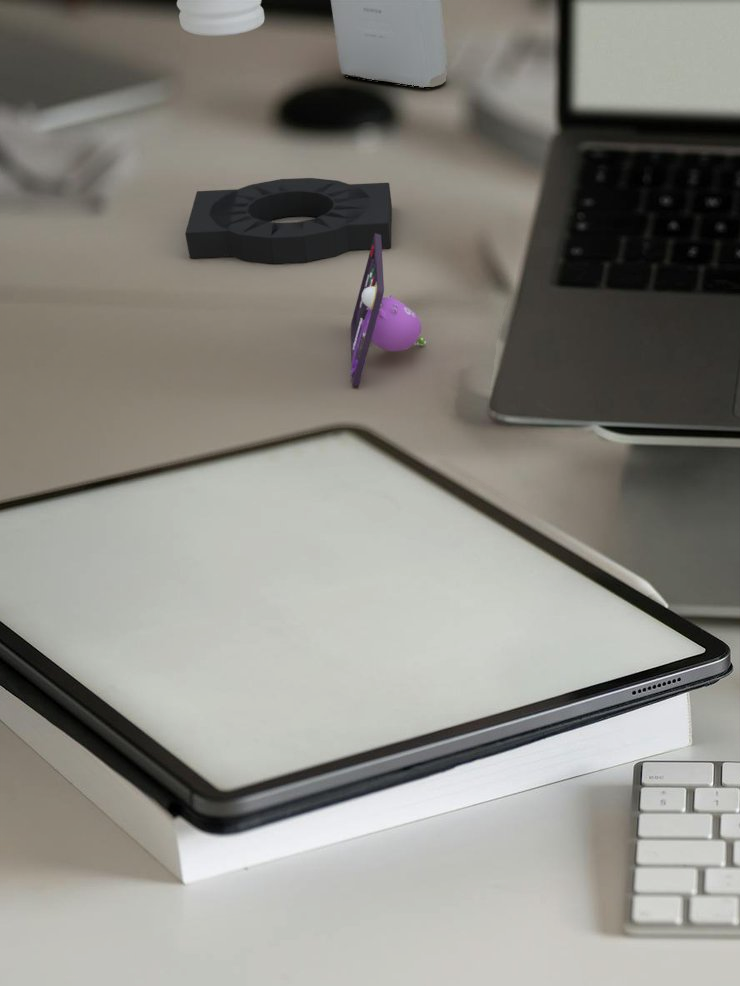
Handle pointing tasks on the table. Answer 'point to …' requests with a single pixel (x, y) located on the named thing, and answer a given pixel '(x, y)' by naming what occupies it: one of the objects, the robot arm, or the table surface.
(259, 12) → the chess pawn
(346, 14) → the photo printer
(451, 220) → the table surface
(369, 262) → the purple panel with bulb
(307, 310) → the table surface
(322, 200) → the socket pad
